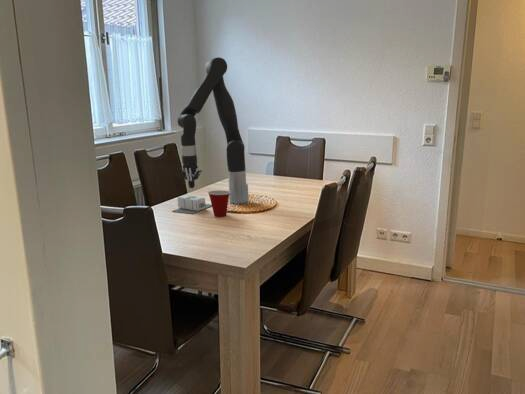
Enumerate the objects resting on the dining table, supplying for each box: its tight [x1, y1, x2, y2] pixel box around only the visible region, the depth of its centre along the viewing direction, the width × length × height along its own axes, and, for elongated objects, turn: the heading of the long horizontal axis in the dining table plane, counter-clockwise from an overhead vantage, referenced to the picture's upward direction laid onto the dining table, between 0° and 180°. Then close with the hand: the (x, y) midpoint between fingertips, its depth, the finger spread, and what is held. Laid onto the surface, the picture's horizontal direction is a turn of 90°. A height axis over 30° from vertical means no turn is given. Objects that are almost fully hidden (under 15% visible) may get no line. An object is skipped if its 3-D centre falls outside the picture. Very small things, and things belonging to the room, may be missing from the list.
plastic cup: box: [207, 190, 231, 218], centre depth 232 cm, size 11×11×12 cm
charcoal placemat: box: [172, 203, 212, 215], centre depth 248 cm, size 13×18×1 cm
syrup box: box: [177, 194, 207, 212], centre depth 247 cm, size 6×6×14 cm
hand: (191, 187), depth 246 cm, fingers closed
